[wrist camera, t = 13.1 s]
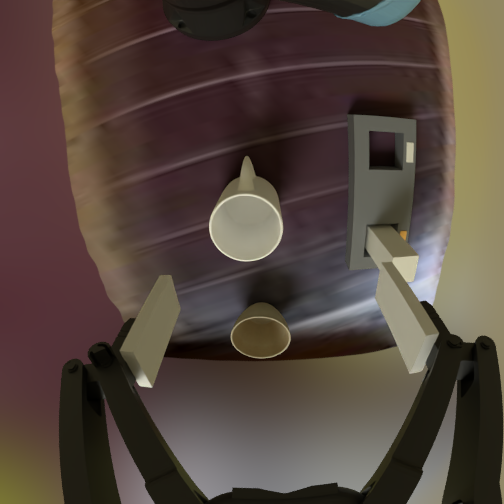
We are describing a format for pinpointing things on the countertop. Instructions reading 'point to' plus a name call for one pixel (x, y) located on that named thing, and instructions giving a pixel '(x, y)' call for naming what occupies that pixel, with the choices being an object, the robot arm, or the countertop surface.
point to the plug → (391, 249)
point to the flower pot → (260, 331)
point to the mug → (247, 217)
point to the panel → (378, 184)
